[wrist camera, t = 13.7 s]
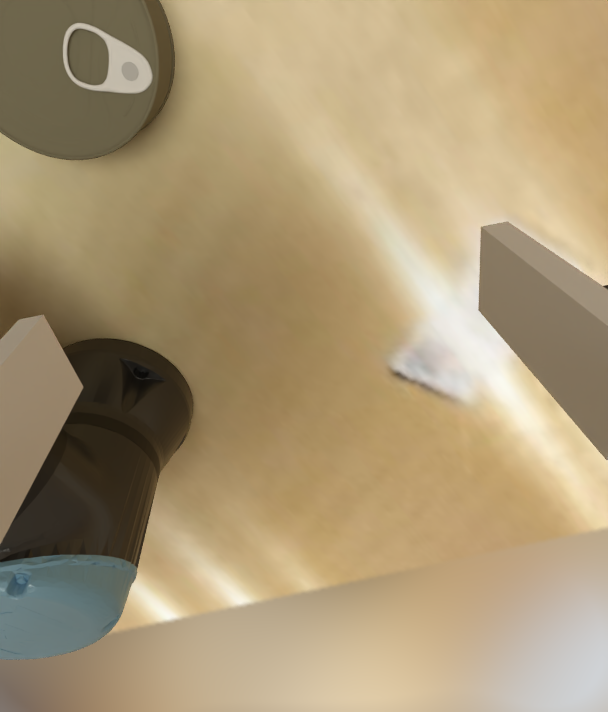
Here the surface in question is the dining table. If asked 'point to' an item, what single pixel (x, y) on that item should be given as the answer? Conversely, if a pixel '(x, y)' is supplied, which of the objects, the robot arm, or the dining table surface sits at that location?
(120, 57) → the can
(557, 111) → the dining table surface
